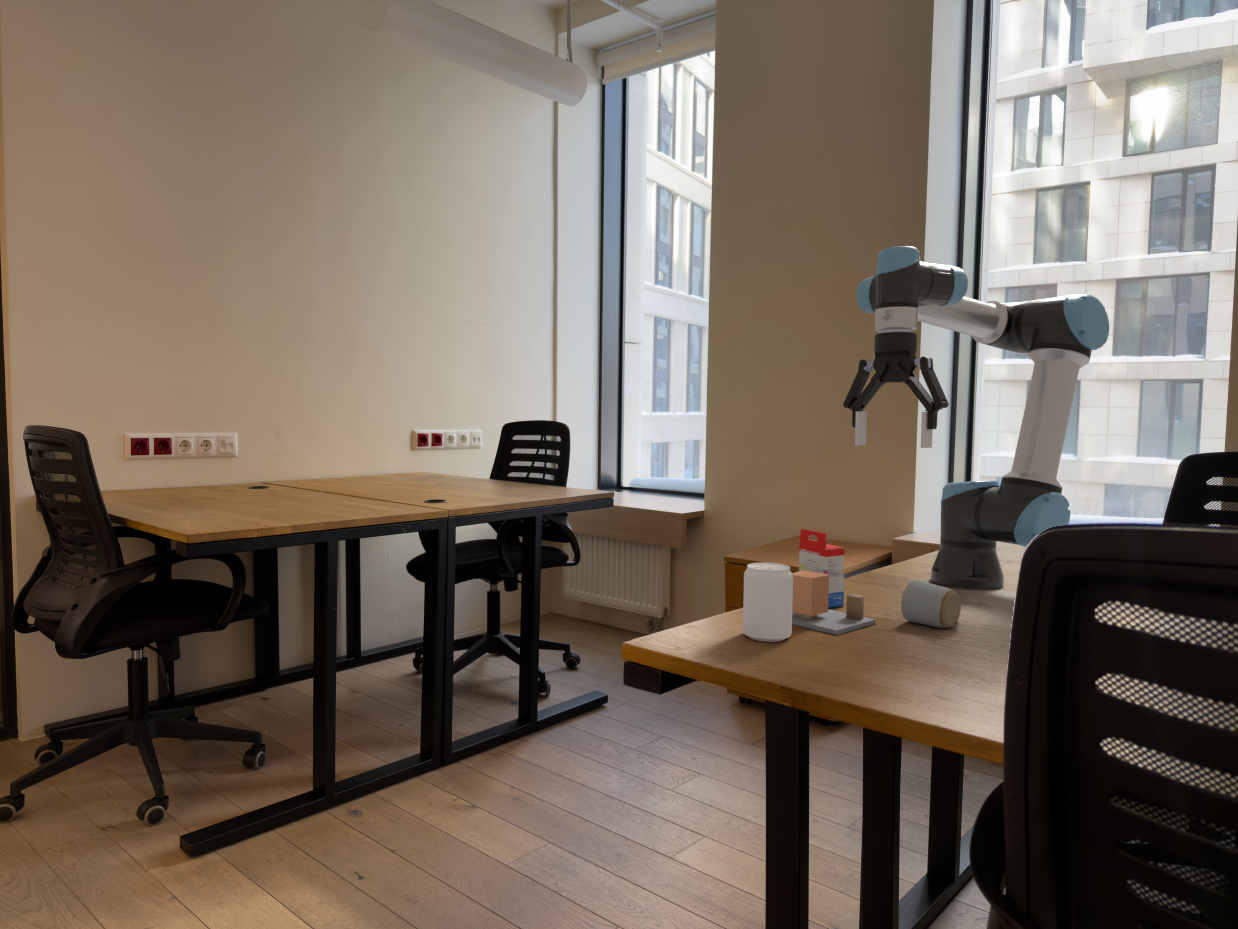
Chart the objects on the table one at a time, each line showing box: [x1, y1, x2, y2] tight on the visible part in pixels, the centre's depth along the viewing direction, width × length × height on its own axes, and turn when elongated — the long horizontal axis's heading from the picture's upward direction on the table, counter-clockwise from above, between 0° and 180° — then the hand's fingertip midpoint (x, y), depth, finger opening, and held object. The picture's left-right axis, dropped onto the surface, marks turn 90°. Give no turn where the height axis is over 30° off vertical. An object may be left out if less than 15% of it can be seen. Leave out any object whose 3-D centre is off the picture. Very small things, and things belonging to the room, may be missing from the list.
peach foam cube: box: [792, 571, 829, 616], centre depth 148 cm, size 5×5×7 cm
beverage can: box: [742, 562, 793, 643], centre depth 137 cm, size 8×8×12 cm
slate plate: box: [792, 593, 876, 636], centre depth 148 cm, size 12×14×5 cm
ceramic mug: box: [900, 579, 962, 629], centre depth 148 cm, size 11×8×8 cm
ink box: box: [798, 528, 845, 609], centre depth 162 cm, size 8×5×15 cm, turn 27°
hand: (892, 446), depth 153 cm, fingers open, 13 cm apart
